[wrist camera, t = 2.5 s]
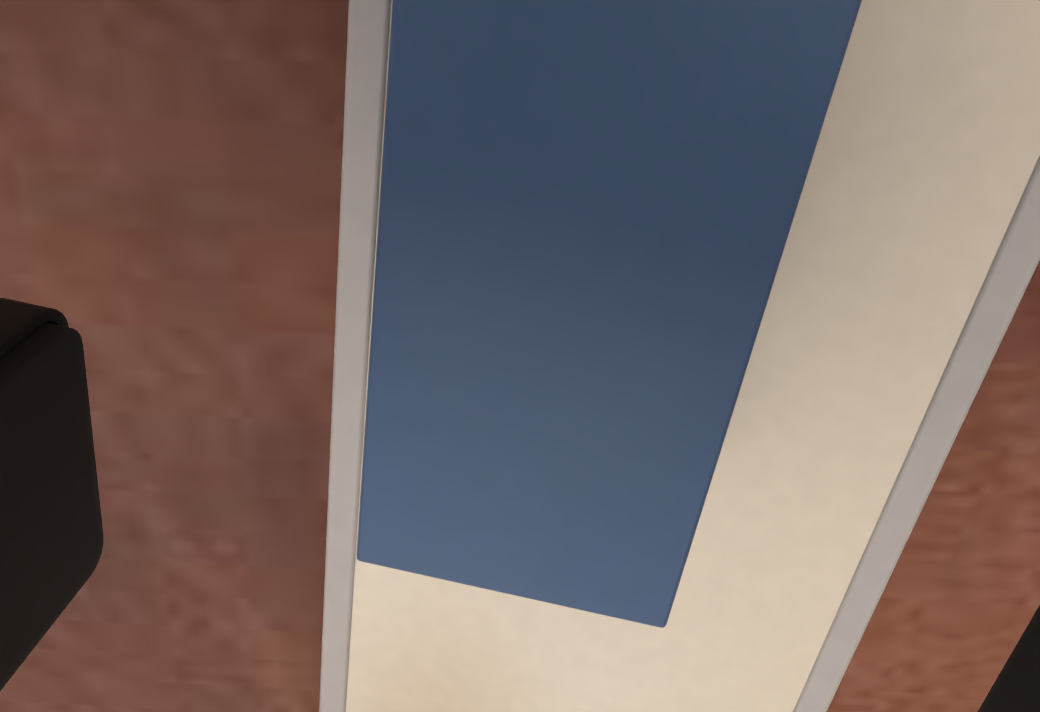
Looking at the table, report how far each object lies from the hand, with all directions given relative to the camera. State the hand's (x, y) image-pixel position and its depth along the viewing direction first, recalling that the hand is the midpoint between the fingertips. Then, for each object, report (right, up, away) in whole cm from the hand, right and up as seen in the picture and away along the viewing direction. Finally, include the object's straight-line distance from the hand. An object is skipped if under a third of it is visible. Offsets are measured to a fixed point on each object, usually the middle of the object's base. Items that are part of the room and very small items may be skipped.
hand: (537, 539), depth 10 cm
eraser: (+1, +5, +7) cm, 9 cm away
